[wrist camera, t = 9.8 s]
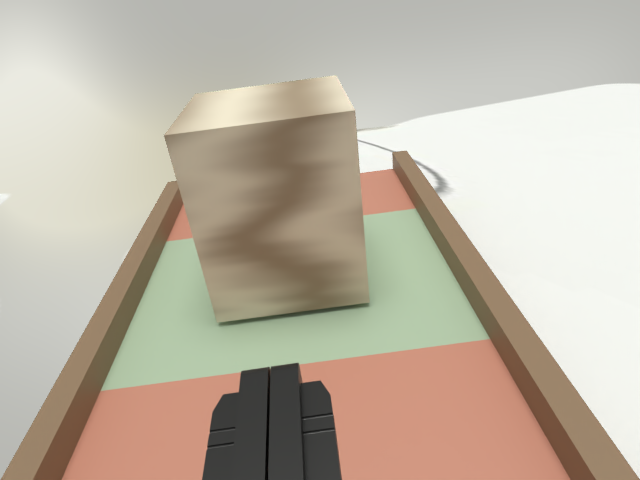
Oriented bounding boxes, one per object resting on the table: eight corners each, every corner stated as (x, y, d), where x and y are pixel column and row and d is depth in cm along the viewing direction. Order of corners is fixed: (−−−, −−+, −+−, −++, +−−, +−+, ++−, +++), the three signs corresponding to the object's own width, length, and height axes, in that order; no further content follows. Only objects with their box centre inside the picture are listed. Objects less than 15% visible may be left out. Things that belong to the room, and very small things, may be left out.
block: (217, 322, 24) (164, 135, 20) (231, 246, 31) (195, 93, 27) (369, 302, 25) (354, 110, 20) (350, 230, 32) (336, 75, 27)
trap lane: (-111, 793, 11) (-162, 767, 10) (174, 203, 41) (168, 181, 40) (727, 679, 11) (755, 642, 10) (406, 172, 41) (406, 150, 40)
